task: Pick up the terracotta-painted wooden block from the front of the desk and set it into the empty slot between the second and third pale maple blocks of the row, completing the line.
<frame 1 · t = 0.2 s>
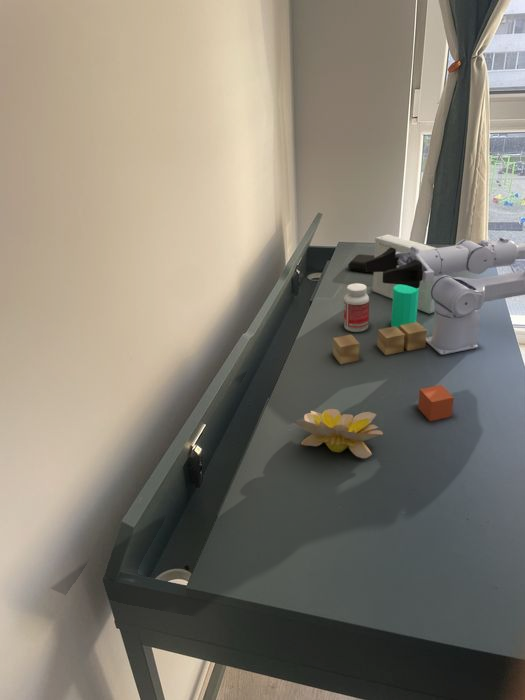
hand: (374, 271, 108), 22 cm above the table, tool horizontal, fingers open, 7 cm apart
block a: (411, 344, 124), on the table
carrying case: (374, 268, 167), on the table
block b: (390, 348, 123), on the table
block c: (345, 357, 121), on the table
orange block: (434, 412, 101), on the table
candle: (403, 327, 132), on the table
skincare box: (406, 300, 145), on the table
pill bottle: (356, 327, 134), on the table
decorative flower: (342, 445, 95), on the table
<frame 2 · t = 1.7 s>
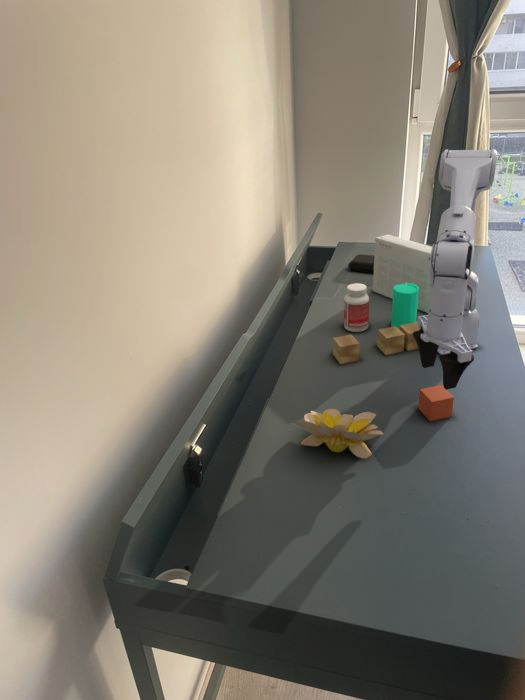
hand: (438, 376, 97), 8 cm above the table, tool pointing down, fingers open, 7 cm apart
nothing on the table moved.
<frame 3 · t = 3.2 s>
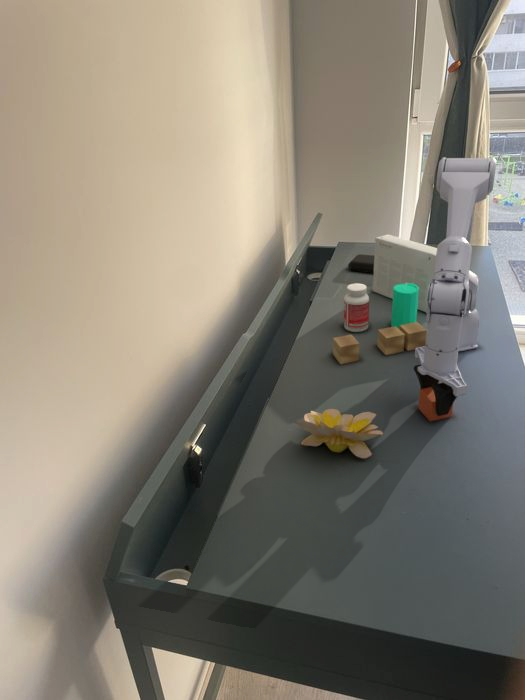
hand: (435, 406, 100), 1 cm above the table, tool pointing down, fingers closed on orange block, 4 cm apart
orange block: (434, 412, 101), on the table, touching gripper
everything else where it was.
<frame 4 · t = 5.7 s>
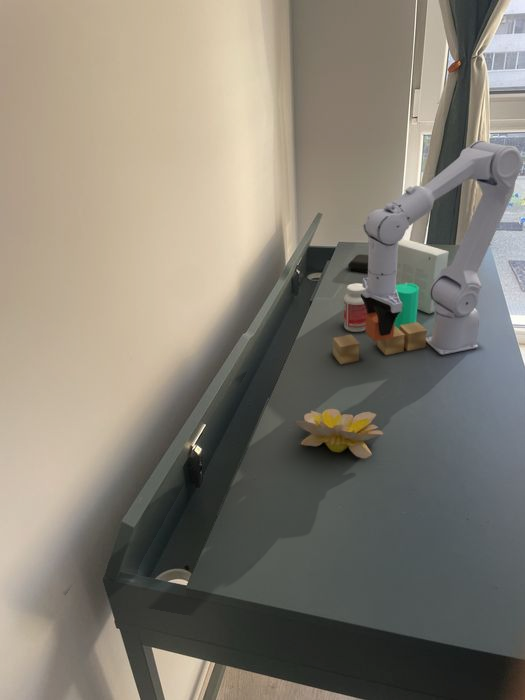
hand: (379, 329, 114), 8 cm above the table, tool pointing down, fingers closed on orange block, 4 cm apart
orange block: (379, 335, 115), point 7 cm above the table, touching gripper
everything else where it was.
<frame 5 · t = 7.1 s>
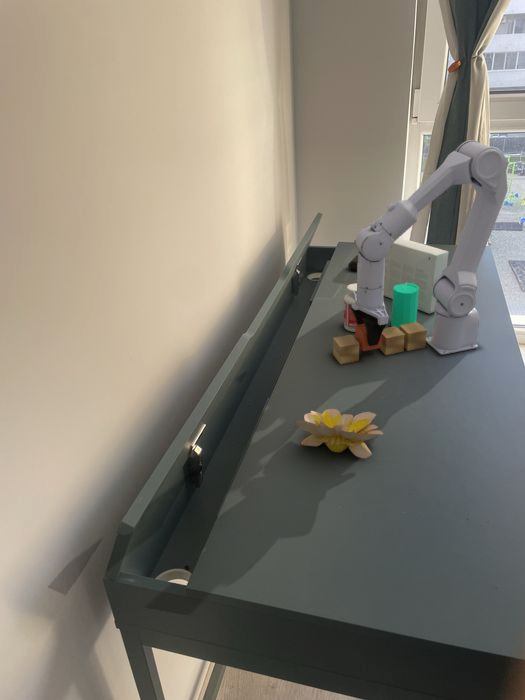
hand: (368, 339, 120), 4 cm above the table, tool pointing down, fingers closed on orange block, 4 cm apart
orange block: (368, 344, 121), point 2 cm above the table, touching gripper
everything else where it was.
when the fingers open (1 cm above the table, at t = 8.2 s): orange block stays where it is, on the table.
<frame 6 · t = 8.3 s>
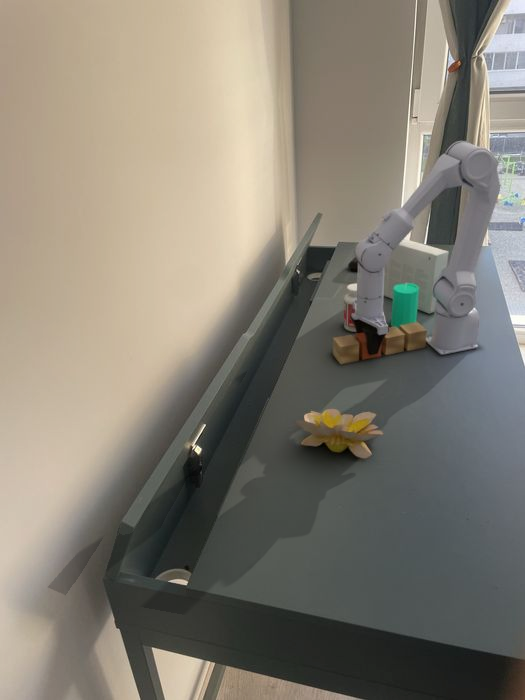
hand: (368, 348, 121), 1 cm above the table, tool pointing down, fingers open, 5 cm apart
orange block: (367, 353, 122), on the table
everything else where it was.
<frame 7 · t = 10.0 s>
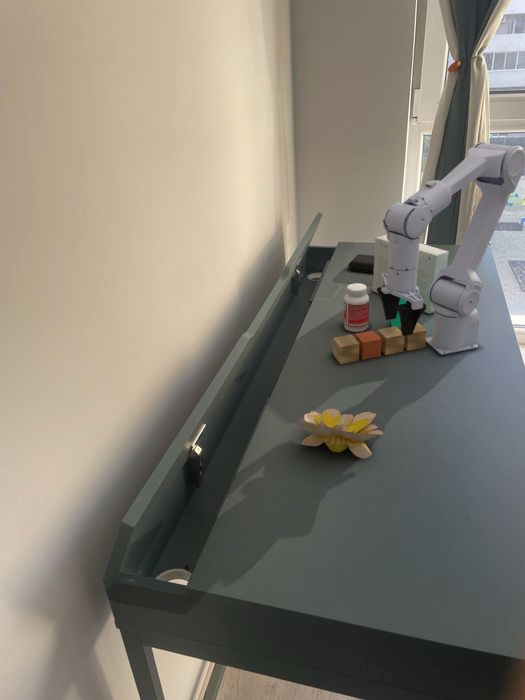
hand: (398, 326, 111), 10 cm above the table, tool pointing down, fingers open, 7 cm apart
nothing on the table moved.
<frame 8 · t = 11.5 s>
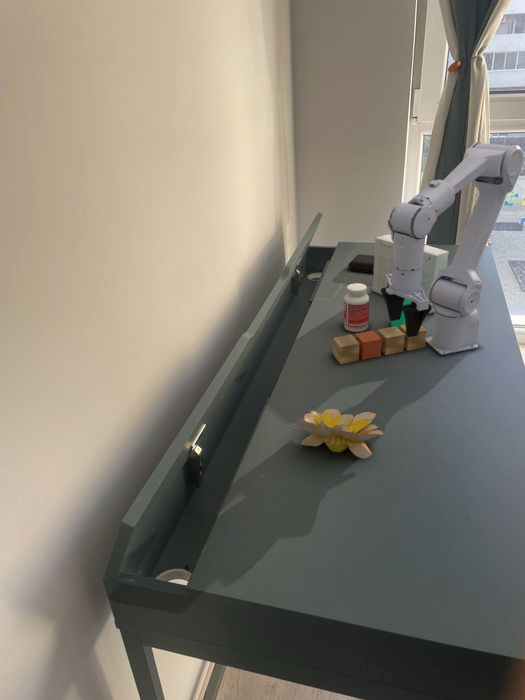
hand: (403, 327, 110), 10 cm above the table, tool pointing down, fingers open, 7 cm apart
nothing on the table moved.
at the end: orange block 0.1 cm from the target spot on the table beside the block b, on the table; orange block tilted 0°; block c moved 0.0 cm from its start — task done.
